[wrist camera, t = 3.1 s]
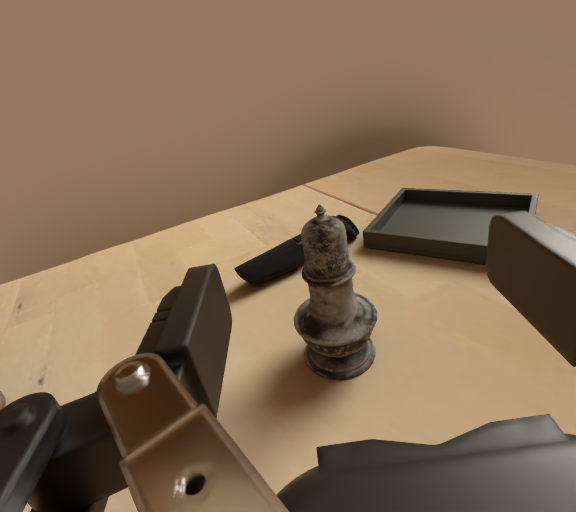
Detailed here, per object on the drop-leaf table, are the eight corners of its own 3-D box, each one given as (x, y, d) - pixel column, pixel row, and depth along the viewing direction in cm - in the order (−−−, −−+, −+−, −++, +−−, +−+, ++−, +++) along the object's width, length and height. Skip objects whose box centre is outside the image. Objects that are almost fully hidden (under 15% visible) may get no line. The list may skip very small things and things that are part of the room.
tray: (363, 247, 40) (362, 231, 39) (402, 201, 49) (402, 187, 48) (524, 270, 32) (528, 250, 31) (535, 210, 41) (538, 193, 40)
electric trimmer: (233, 286, 38) (225, 261, 37) (340, 229, 45) (337, 206, 44) (251, 300, 36) (243, 273, 34) (362, 237, 42) (360, 213, 41)
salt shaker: (383, 328, 29) (375, 184, 23) (374, 388, 24) (361, 226, 18) (312, 323, 31) (288, 189, 25) (291, 376, 26) (256, 227, 20)
